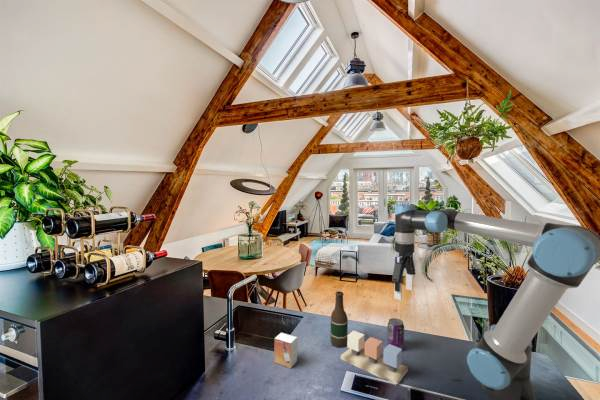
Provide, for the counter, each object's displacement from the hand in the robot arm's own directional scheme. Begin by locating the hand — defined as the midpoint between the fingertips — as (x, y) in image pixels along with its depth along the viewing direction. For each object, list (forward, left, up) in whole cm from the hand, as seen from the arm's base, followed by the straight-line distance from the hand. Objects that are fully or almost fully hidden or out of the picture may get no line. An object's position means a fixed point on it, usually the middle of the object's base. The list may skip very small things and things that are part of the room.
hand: (403, 294), depth 117 cm
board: (+8, +11, -28) cm, 31 cm away
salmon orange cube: (+8, +11, -24) cm, 27 cm away
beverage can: (+6, -7, -28) cm, 30 cm away
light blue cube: (0, +11, -24) cm, 26 cm away
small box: (+36, +33, -28) cm, 56 cm away
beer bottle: (+27, +7, -28) cm, 40 cm away
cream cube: (+16, +11, -24) cm, 30 cm away
